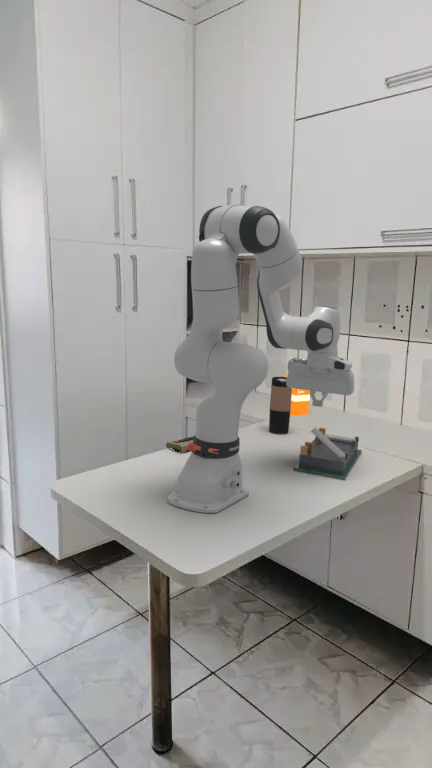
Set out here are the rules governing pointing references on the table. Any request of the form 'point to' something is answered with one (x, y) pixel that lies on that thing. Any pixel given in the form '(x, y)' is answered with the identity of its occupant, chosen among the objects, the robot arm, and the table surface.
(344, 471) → the dark piece
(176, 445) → the computer
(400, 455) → the table surface
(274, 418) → the travel mug
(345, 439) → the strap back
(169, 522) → the table surface
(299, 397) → the orange juice
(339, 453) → the strap front
